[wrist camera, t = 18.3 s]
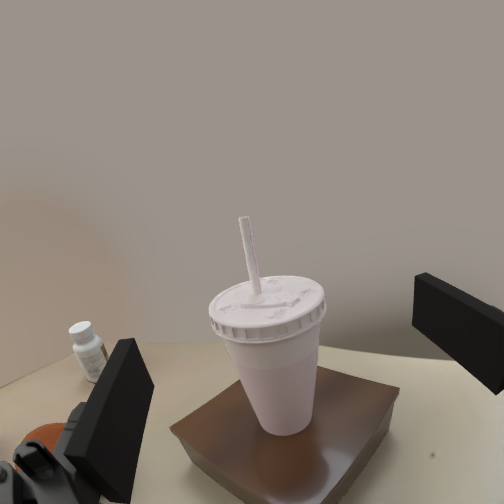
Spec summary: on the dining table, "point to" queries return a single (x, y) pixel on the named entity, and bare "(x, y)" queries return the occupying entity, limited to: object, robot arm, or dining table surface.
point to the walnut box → (290, 442)
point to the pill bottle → (88, 350)
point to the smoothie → (272, 341)
